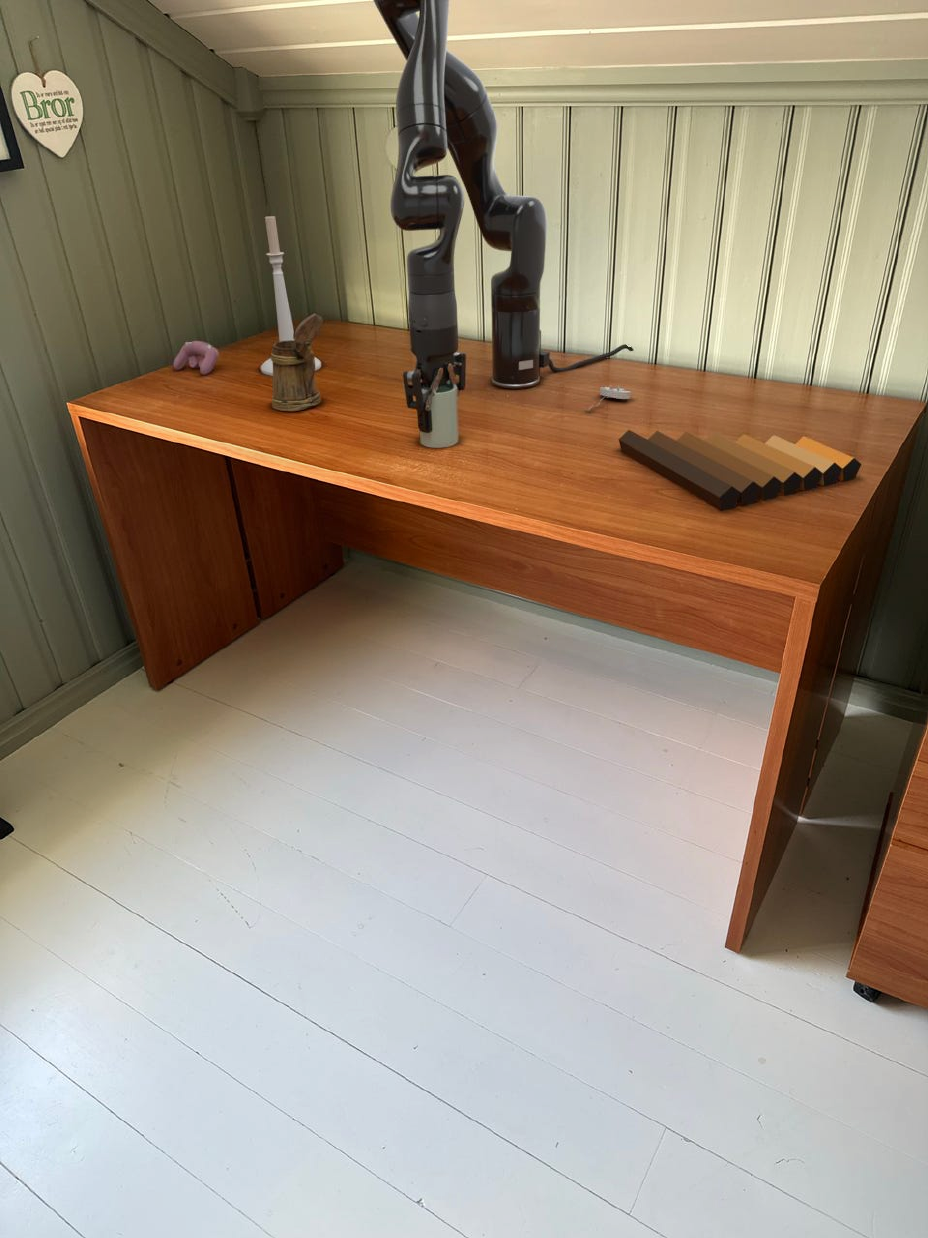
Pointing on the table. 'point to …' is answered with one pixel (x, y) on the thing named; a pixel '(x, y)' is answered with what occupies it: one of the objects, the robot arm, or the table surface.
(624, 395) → the game controller
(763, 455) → the pan flute
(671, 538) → the table surface
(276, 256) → the candlestick
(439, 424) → the cup
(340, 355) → the table surface
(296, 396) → the wooden mug
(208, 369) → the video game controller
